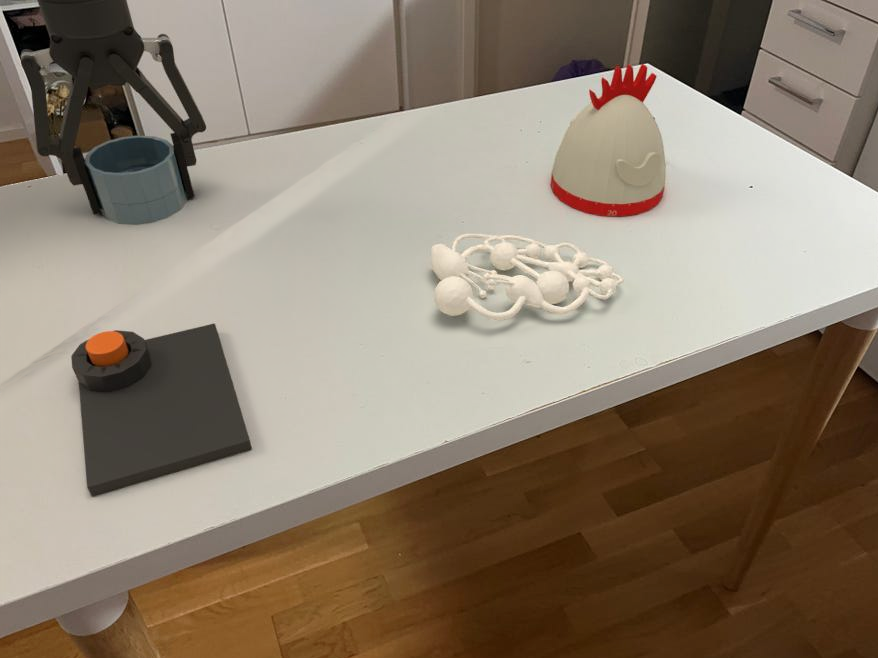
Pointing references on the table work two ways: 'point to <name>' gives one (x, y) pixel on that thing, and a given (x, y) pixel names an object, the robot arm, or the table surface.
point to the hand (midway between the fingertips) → (143, 199)
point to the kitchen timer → (612, 151)
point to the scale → (157, 409)
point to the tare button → (107, 348)
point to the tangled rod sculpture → (548, 289)
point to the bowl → (136, 179)
